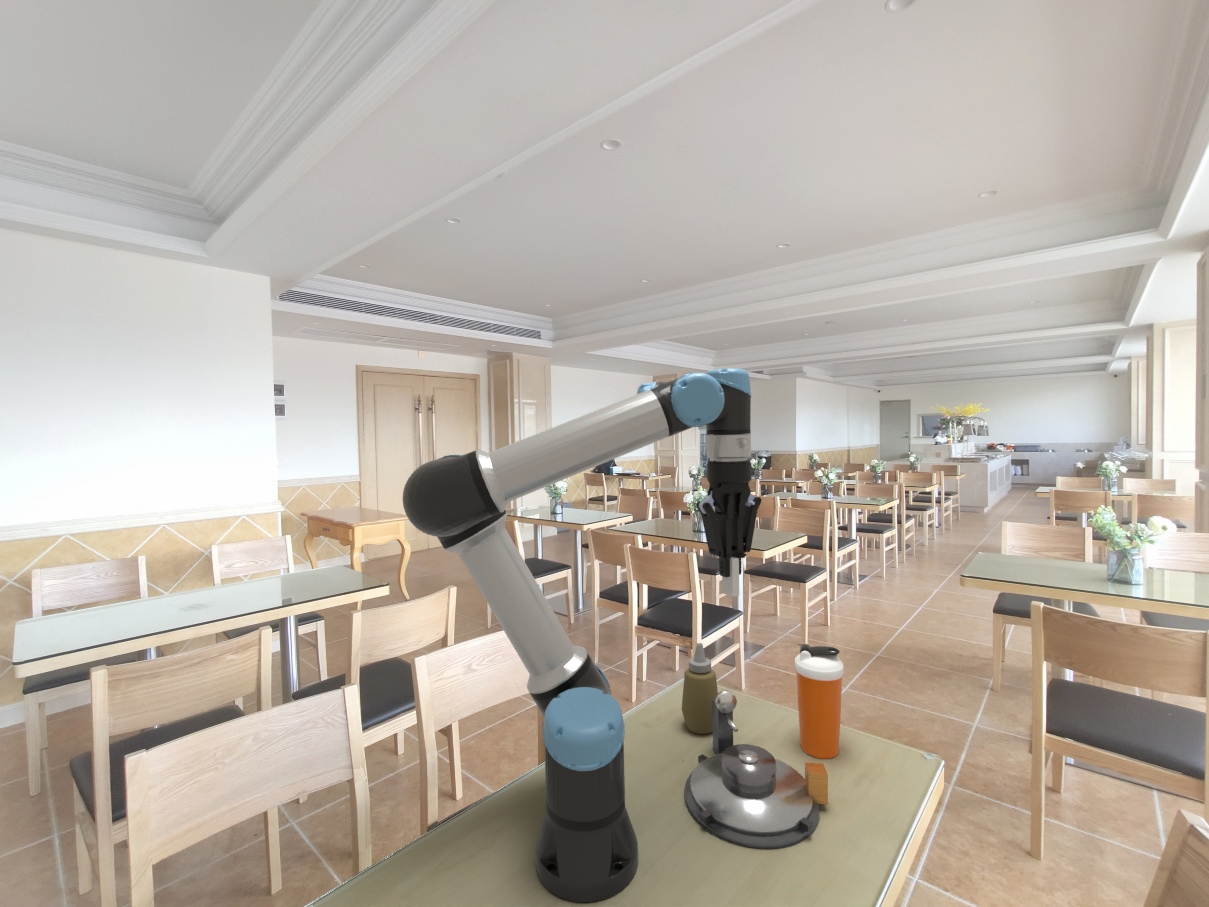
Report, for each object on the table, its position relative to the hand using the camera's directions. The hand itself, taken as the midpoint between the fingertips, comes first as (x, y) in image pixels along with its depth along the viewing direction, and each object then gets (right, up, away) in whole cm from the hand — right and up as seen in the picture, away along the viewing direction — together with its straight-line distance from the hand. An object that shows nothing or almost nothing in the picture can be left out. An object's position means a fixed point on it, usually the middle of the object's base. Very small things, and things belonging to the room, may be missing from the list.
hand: (730, 593), depth 97 cm
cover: (+3, -32, -1) cm, 32 cm away
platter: (+4, -33, -3) cm, 34 cm away
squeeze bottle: (-2, -34, +21) cm, 40 cm away
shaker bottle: (+20, -34, +12) cm, 41 cm away
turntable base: (+3, -35, -2) cm, 35 cm away
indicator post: (+2, -34, +9) cm, 35 cm away
